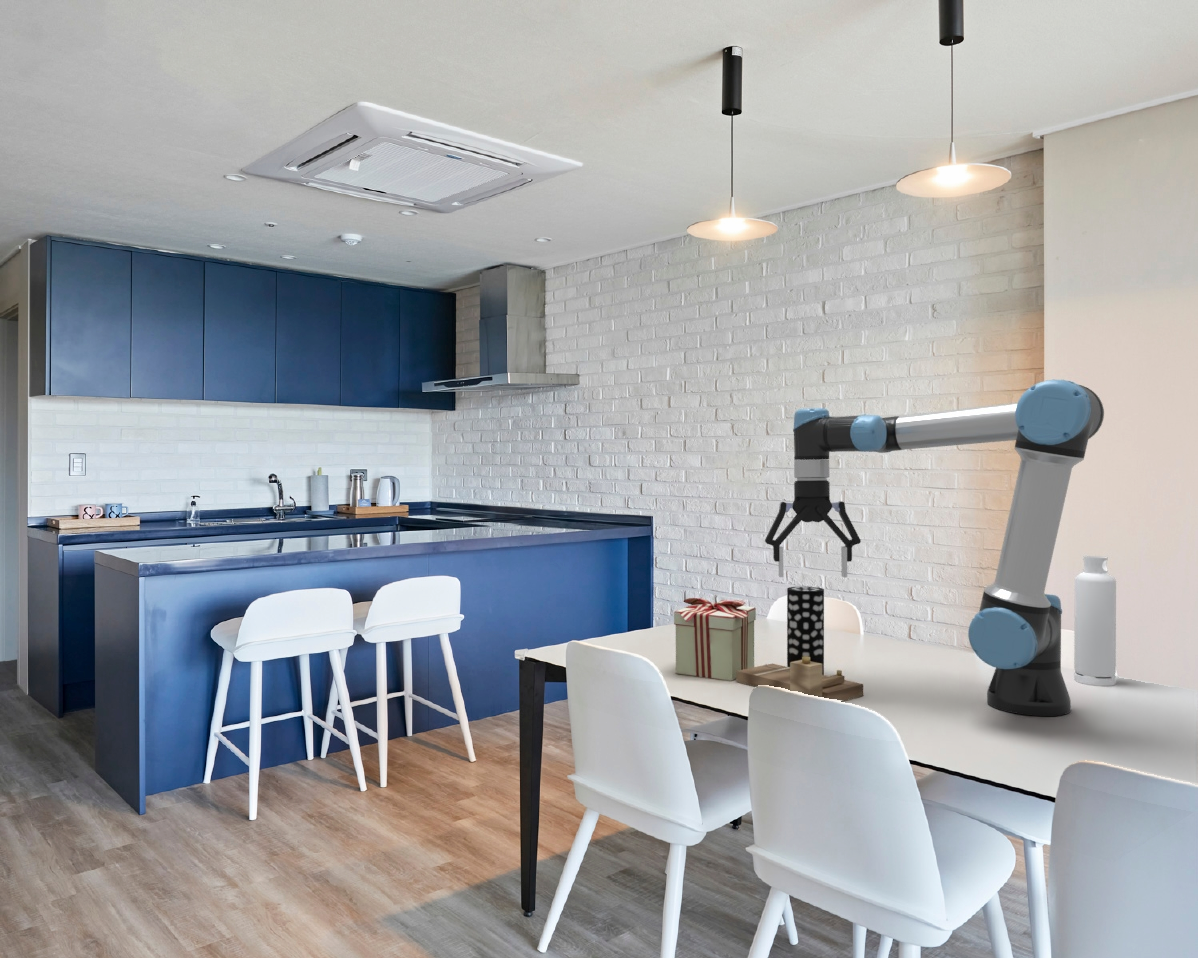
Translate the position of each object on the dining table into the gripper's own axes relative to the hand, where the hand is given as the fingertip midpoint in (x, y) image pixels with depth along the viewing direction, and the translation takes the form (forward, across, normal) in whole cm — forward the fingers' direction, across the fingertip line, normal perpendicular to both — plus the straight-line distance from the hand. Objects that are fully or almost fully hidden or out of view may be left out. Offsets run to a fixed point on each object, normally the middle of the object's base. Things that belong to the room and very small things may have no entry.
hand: (812, 576), depth 194 cm
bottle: (+25, -63, -11) cm, 69 cm away
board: (+24, +4, +1) cm, 24 cm away
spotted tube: (+24, 0, -12) cm, 27 cm away
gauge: (+24, 0, +10) cm, 26 cm away
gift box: (+24, +21, -12) cm, 34 cm away
